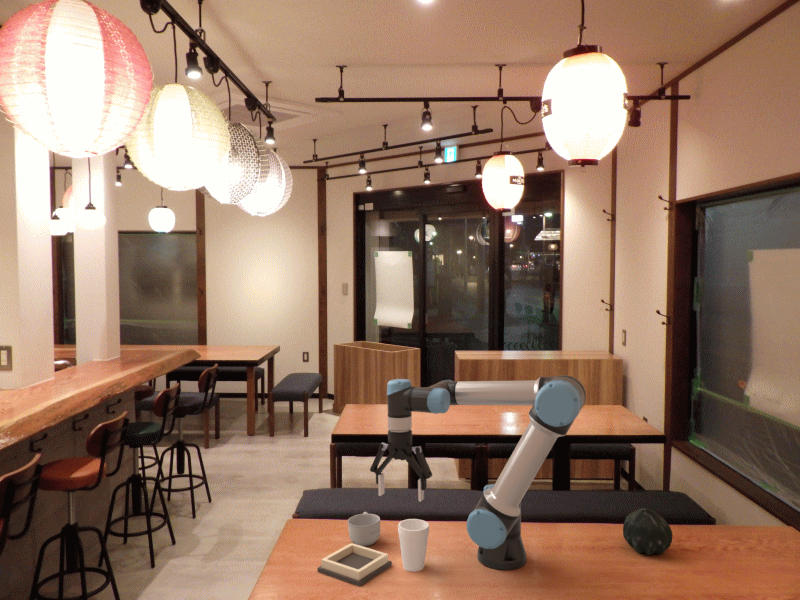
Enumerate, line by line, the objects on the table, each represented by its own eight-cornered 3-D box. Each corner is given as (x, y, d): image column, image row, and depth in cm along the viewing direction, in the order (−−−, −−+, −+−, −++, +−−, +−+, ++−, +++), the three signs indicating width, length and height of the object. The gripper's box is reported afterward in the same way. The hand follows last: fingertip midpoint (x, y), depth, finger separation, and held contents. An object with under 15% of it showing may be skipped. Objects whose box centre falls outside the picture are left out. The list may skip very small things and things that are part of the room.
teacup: (375, 550, 202) (375, 526, 201) (343, 547, 204) (343, 523, 203) (385, 533, 215) (385, 510, 215) (355, 531, 217) (355, 508, 217)
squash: (657, 521, 212) (633, 492, 208) (689, 541, 197) (664, 509, 194) (630, 552, 210) (605, 522, 206) (659, 574, 195) (633, 543, 192)
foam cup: (406, 576, 184) (407, 533, 183) (392, 564, 192) (392, 522, 192) (434, 569, 188) (434, 527, 188) (419, 557, 196) (419, 516, 196)
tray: (391, 565, 191) (391, 553, 191) (359, 586, 178) (359, 574, 178) (351, 552, 200) (351, 541, 200) (317, 571, 187) (317, 559, 187)
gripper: (441, 430, 192) (442, 498, 192) (369, 423, 202) (371, 488, 203) (432, 435, 185) (434, 506, 185) (358, 428, 195) (360, 496, 196)
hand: (401, 497), depth 194 cm, fingers open, 13 cm apart
